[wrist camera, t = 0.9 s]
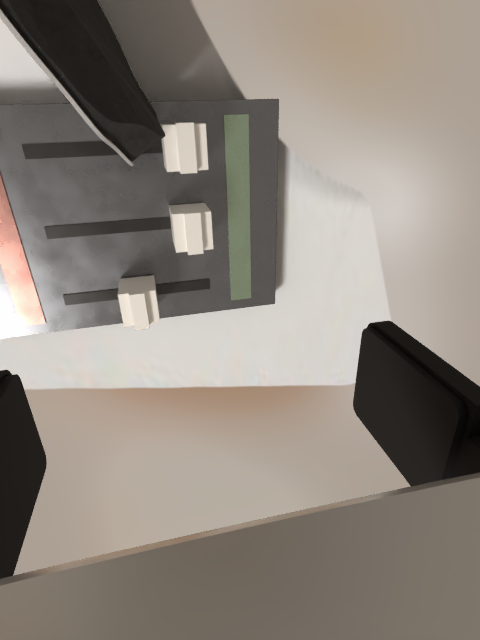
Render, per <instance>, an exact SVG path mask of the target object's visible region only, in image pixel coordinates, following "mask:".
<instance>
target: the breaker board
mask: <svg viewBox="0 0 480 640" xmlns="http://www.w3.org/2000/svg"><path fill="white" fill-rule="evenodd" d="M149 103H150V104H151V105H152V107H153V109H154V110H155V112H156V114H157V118H158V121H159V123H160V124H175V123H190V122H194V123H204V124H206V137H207V153H208V169H209V170H197V173H188V174H180V171H178V172H167V171H166V169H165V167H164V158H163V149H162V140H160V141H158V142H157V143H156V144H154V145H153V146H152V147H151V148H149V149H148V150H147V151H145V152H144V153H143V154H141V155H140V156H139V157H138V158H136V159H135V160H134V165H133V166H132V167H131V166H130V165H129V164H128V163H127V162H126V161H125V160H124V159H123V158H122V157H121V156H120V155H119V154H118V153H117V152H116V151H115V150H114V149H113V148H111V147H110V146H109V145H107V144H106V143H105V142H104V141H103V140H101V139H100V138H99V137H98V135H97V134H96V133H95V132H94V131H93V130H92V129H91V128H90V126H89V125H88V124H87V123H86V121H85V120H84V119H83V118H82V117H81V115H80V114H79V113H78V112H77V110H76V109H75V108H74V107H73V105H72V104H26V105H0V339H1V338H9V337H17V336H25V335H33V334H40V333H48V332H56V331H64V330H72V329H80V328H88V327H95V326H103V325H111V324H119V323H123V320H122V315H121V309H120V304H119V299H118V288H119V280H120V279H123V278H132V277H141V276H151V275H154V278H155V285H156V292H157V299H158V306H159V317H160V318H166V317H174V316H182V315H190V314H198V313H205V312H213V311H221V310H229V309H237V308H245V307H253V306H260V305H268V304H275V272H276V221H277V170H278V119H279V118H278V117H279V99H255V100H208V101H163V102H149ZM193 203H205V204H206V205H207V207H208V208H209V209H210V211H211V218H212V234H213V249H210V250H203V254H196V255H188V253H187V252H179V253H176V251H175V247H174V243H173V238H172V229H171V220H170V211H169V205H179V204H193Z"/></svg>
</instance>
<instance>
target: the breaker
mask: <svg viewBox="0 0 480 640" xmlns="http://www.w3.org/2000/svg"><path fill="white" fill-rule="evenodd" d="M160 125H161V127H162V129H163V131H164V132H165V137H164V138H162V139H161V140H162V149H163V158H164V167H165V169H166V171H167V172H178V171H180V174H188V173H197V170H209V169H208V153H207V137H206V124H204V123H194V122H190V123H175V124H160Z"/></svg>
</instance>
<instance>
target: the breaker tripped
mask: <svg viewBox="0 0 480 640" xmlns="http://www.w3.org/2000/svg"><path fill="white" fill-rule="evenodd" d="M118 299H119V304H120V309H121V315H122V320H123V325H124V327H129V326H134V327H135V330H140V329H147V328H150V325H149V324H152V323H160V317H159V306H158V299H157V292H156V285H155V278H154V275H151V276H141V277H132V278H123V279H120V280H119V288H118Z"/></svg>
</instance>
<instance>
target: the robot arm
mask: <svg viewBox="0 0 480 640" xmlns="http://www.w3.org/2000/svg"><path fill="white" fill-rule="evenodd" d="M353 407H354V410H355V413H356V415H357V416H358V417H359V419H360V420H361V421H362V423H363V424H364V425H365V427H366V428H367V429H368V431H369V432H370V433H371V435H372V436H373V437H374V438H375V440H376V441H377V442H378V444H379V445H380V446H381V448H382V449H383V450H384V452H385V453H386V454H387V455H388V457H389V458H390V459H391V461H392V462H393V463H394V465H395V466H396V467H397V468H398V470H399V471H400V472H401V474H402V475H403V476H404V477H405V479H406V480H407V482H408V483H409V484H410V486H411V487H407V488H402V489H397V490H393V491H388V492H383V493H379V494H374V495H369V496H365V497H360V498H355V499H351V500H346V501H341V502H337V503H332V504H328V505H323V506H318V507H314V508H310V509H305V510H300V511H296V512H291V513H286V514H282V515H277V516H273V517H268V518H264V519H259V520H255V521H250V522H246V523H241V524H237V525H232V526H228V527H223V528H219V529H214V530H210V531H205V532H201V533H196V534H192V535H188V536H183V537H178V538H174V539H170V540H165V541H161V542H157V543H152V544H147V545H143V546H139V547H134V548H130V549H125V550H121V551H117V552H112V553H108V554H103V555H99V556H95V557H90V558H86V559H81V560H77V561H73V562H68V563H64V564H60V565H56V566H52V567H48V568H44V569H39V570H35V571H31V572H27V573H23V574H19V575H14V576H13V574H14V570H15V567H16V564H17V561H18V558H19V554H20V551H21V548H22V545H23V541H24V538H25V535H26V531H27V528H28V525H29V522H30V519H31V515H32V512H33V509H34V505H35V502H36V499H37V496H38V493H39V490H40V486H41V483H42V480H43V476H44V473H45V469H46V455H45V452H44V449H43V446H42V443H41V440H40V437H39V434H38V431H37V428H36V424H35V422H34V418H33V415H32V412H31V409H30V406H29V403H28V400H27V397H26V395H25V391H24V388H23V385H22V382H21V379H20V377H19V376H18V375H17V374H16V375H12V374H11V373H10V371H8V370H2V371H0V640H480V387H479V386H478V385H476V384H475V383H474V382H473V381H471V380H470V379H469V378H467V377H466V376H464V375H463V374H462V373H460V372H459V371H458V370H456V369H455V368H454V367H452V366H451V365H450V364H448V363H447V362H445V361H444V360H442V359H441V358H440V357H439V356H437V355H436V354H435V353H433V352H432V351H431V350H429V349H428V348H427V347H425V346H424V345H422V344H421V343H419V342H418V341H417V340H416V339H414V338H413V337H412V336H410V335H409V334H407V333H406V332H405V331H403V330H402V329H401V328H399V327H398V326H397V325H395V324H394V323H393V322H391V321H383V322H375V323H370V324H369V325H368V327H367V328H366V329H364V330H363V332H362V338H361V345H360V353H359V361H358V369H357V377H356V384H355V392H354V400H353Z"/></svg>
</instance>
